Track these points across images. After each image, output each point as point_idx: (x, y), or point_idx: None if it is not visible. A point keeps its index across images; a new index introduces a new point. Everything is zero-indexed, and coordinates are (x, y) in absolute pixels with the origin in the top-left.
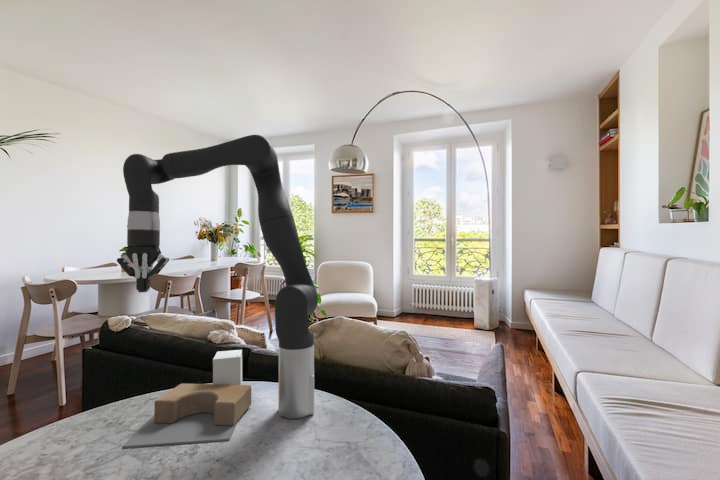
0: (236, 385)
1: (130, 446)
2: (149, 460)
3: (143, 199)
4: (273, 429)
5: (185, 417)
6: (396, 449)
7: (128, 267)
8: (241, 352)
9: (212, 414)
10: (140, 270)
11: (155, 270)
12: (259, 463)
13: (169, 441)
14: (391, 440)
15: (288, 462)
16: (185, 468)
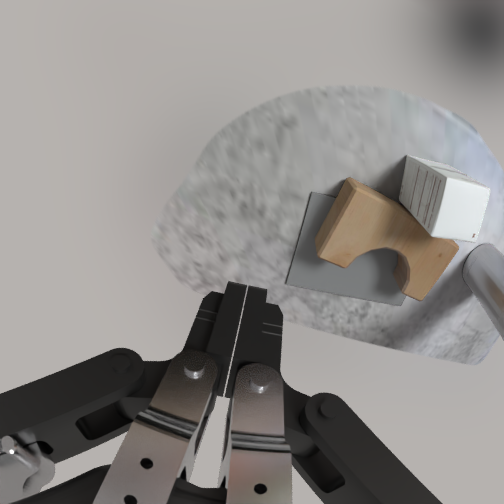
0: (442, 242)
1: (295, 285)
2: (321, 313)
3: None
4: (444, 297)
5: None
6: (490, 345)
7: (95, 445)
8: (485, 208)
9: None
10: (196, 449)
11: (329, 470)
12: (411, 342)
13: (339, 291)
14: (497, 336)
15: (429, 345)
16: (354, 333)
